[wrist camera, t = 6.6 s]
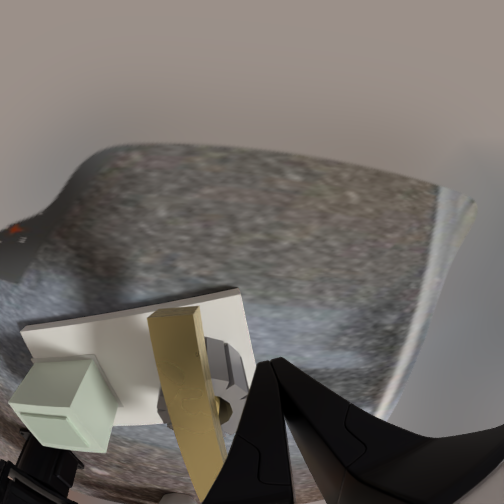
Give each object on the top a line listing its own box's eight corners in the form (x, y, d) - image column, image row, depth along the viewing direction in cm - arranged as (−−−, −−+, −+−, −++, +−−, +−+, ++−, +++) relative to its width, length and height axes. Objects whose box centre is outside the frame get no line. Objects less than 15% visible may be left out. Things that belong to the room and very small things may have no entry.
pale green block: (61, 404, 16) (42, 448, 11) (35, 362, 15) (6, 404, 10) (118, 404, 17) (105, 455, 12) (92, 358, 16) (68, 410, 11)
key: (234, 441, 18) (233, 501, 11) (208, 442, 17) (200, 501, 11) (209, 290, 17) (193, 314, 11) (178, 293, 17) (146, 317, 11)
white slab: (77, 417, 18) (63, 456, 14) (23, 326, 15) (-8, 360, 11) (262, 398, 20) (276, 445, 15) (238, 287, 17) (251, 328, 13)
